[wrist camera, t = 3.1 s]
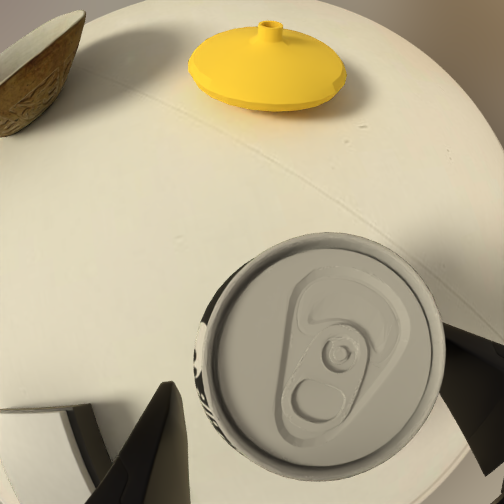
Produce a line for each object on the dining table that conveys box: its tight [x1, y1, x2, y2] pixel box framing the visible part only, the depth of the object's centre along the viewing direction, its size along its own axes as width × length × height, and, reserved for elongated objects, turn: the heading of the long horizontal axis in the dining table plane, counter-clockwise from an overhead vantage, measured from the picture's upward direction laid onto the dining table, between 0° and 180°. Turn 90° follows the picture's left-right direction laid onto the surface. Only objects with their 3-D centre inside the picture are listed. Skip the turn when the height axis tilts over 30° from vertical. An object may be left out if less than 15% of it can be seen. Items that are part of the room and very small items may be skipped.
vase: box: [188, 21, 347, 112], centre depth 23 cm, size 16×16×7 cm
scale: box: [0, 403, 112, 504], centre depth 11 cm, size 10×10×3 cm
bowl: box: [0, 10, 86, 137], centre depth 22 cm, size 24×24×10 cm
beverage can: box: [194, 232, 446, 481], centre depth 11 cm, size 7×7×12 cm
